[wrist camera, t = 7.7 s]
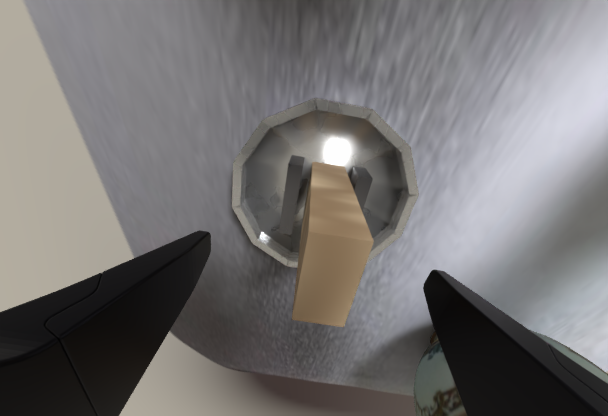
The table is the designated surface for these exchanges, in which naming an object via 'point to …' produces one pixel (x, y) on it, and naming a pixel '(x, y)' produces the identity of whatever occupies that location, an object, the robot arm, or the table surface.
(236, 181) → the tin
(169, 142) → the table surface
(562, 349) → the bowl
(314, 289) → the wooden plank
